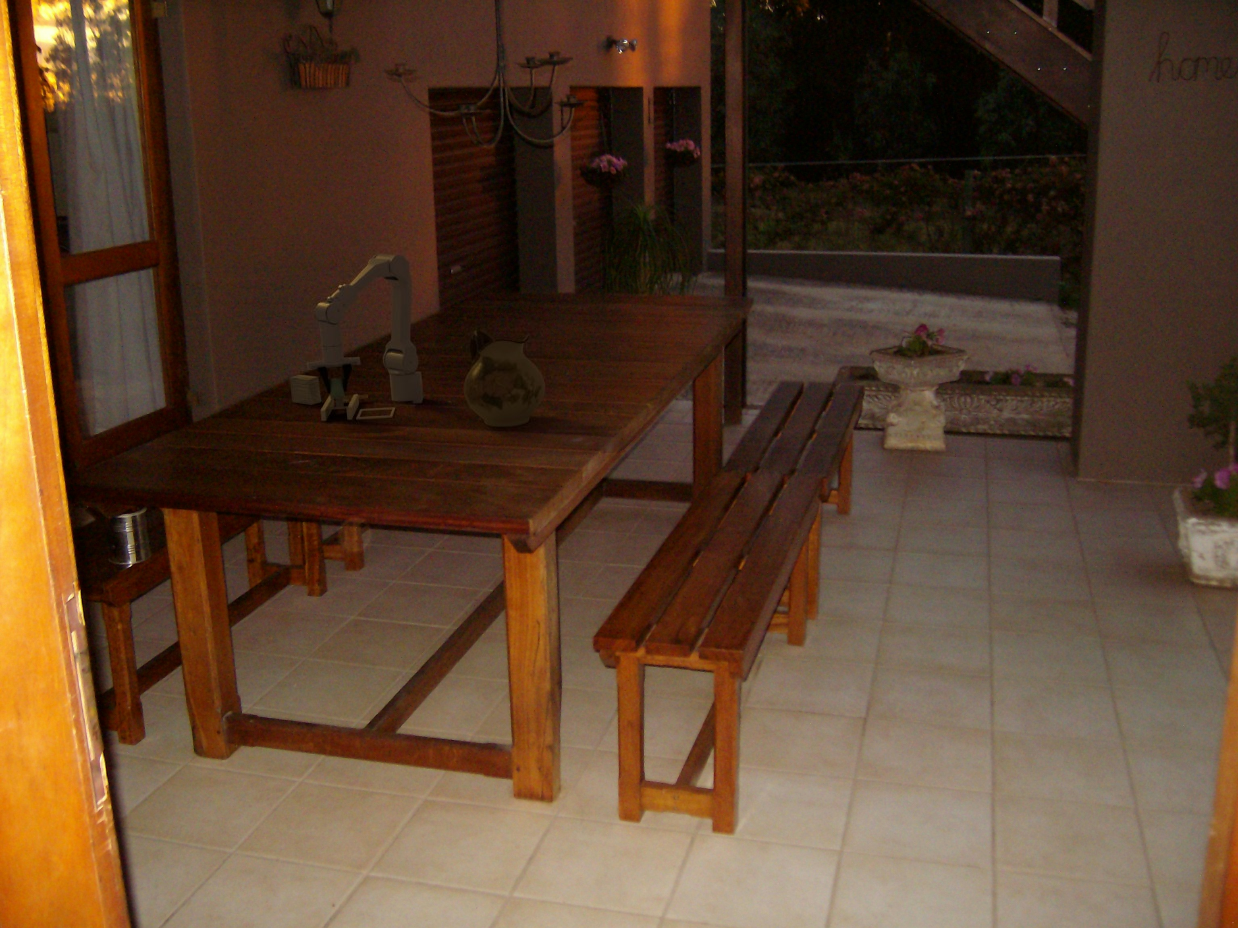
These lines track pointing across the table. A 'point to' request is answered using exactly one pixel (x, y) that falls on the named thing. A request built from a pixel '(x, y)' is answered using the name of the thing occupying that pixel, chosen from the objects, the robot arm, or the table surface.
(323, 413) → the beige h-shaped piece
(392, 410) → the tray
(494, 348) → the pitcher
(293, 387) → the medicine box
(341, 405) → the lever
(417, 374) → the robot arm
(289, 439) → the table surface
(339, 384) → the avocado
